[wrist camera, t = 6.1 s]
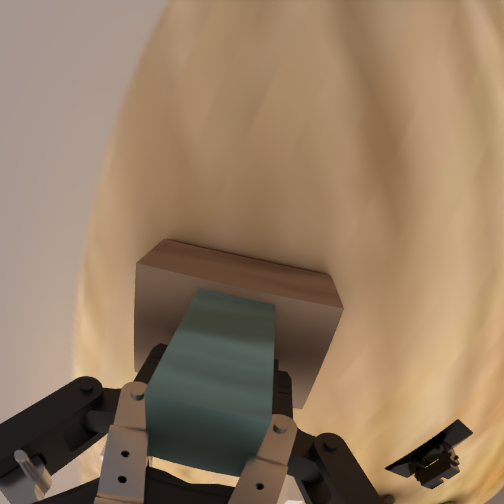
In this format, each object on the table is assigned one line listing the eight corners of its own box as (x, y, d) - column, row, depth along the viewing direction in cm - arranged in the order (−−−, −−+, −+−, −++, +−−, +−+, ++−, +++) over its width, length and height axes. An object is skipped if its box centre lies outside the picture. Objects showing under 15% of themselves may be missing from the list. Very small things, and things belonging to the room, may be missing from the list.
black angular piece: (399, 481, 27) (406, 509, 22) (367, 468, 26) (374, 501, 21) (484, 423, 23) (498, 450, 19) (464, 402, 22) (482, 434, 18)
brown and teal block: (163, 239, 18) (50, 343, 8) (331, 275, 18) (382, 419, 8) (156, 335, 20) (84, 460, 10) (299, 367, 20) (306, 512, 10)
